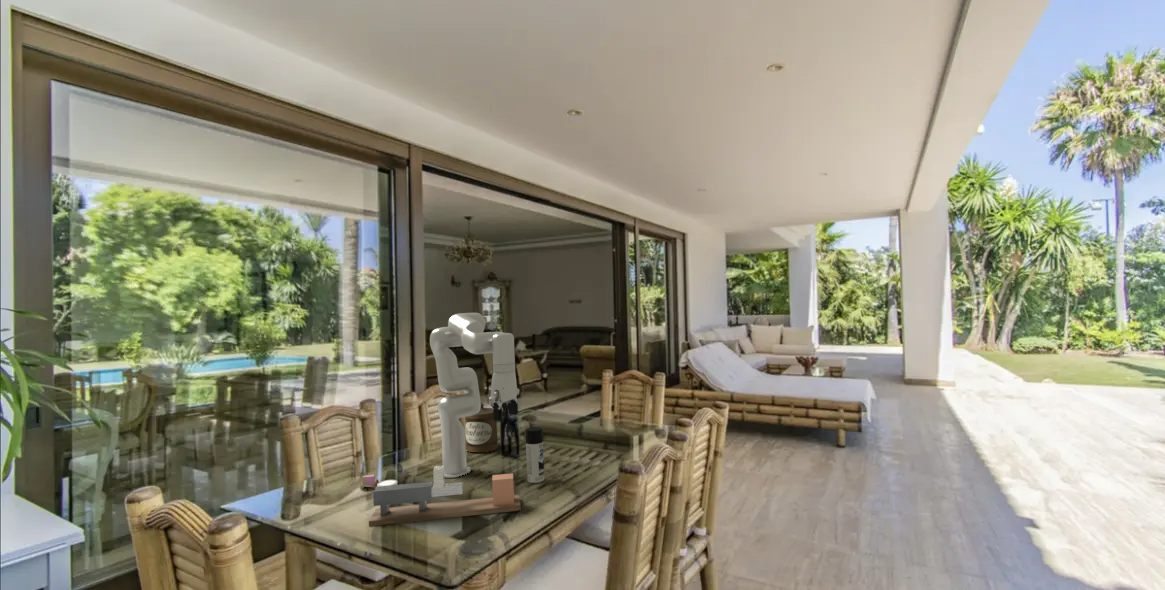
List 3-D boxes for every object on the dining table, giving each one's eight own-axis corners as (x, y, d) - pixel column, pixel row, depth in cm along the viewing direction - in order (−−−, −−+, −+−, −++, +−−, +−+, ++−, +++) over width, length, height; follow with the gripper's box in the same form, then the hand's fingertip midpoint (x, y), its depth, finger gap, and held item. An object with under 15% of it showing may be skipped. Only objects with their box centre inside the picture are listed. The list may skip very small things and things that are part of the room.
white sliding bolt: (379, 498, 171) (378, 471, 171) (463, 490, 176) (462, 463, 176) (376, 502, 167) (375, 475, 167) (462, 494, 172) (461, 467, 172)
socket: (493, 500, 178) (492, 475, 178) (513, 497, 179) (512, 473, 179) (493, 505, 173) (492, 480, 173) (514, 503, 174) (513, 478, 174)
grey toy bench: (377, 511, 171) (376, 486, 171) (433, 506, 174) (432, 481, 174) (373, 517, 167) (373, 491, 167) (431, 511, 170) (430, 486, 170)
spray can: (541, 484, 196) (539, 431, 196) (524, 483, 197) (522, 430, 197) (546, 477, 202) (544, 426, 202) (530, 477, 203) (528, 426, 204)
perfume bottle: (356, 494, 193) (356, 482, 193) (363, 483, 205) (363, 471, 205) (390, 490, 196) (390, 478, 196) (395, 479, 208) (394, 468, 208)
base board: (376, 513, 174) (376, 508, 174) (519, 499, 182) (519, 494, 182) (368, 526, 164) (368, 521, 164) (520, 510, 172) (520, 505, 172)
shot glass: (378, 507, 178) (378, 487, 178) (376, 501, 184) (375, 481, 184) (399, 503, 182) (398, 483, 182) (396, 497, 188) (396, 478, 188)
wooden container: (461, 453, 239) (459, 406, 239) (473, 444, 254) (471, 399, 254) (491, 453, 237) (489, 405, 237) (501, 444, 251) (500, 399, 251)
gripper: (508, 365, 190) (510, 411, 190) (480, 371, 174) (482, 422, 174) (526, 365, 187) (527, 412, 187) (499, 372, 171) (501, 424, 171)
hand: (505, 417), depth 180 cm, fingers open, 9 cm apart
